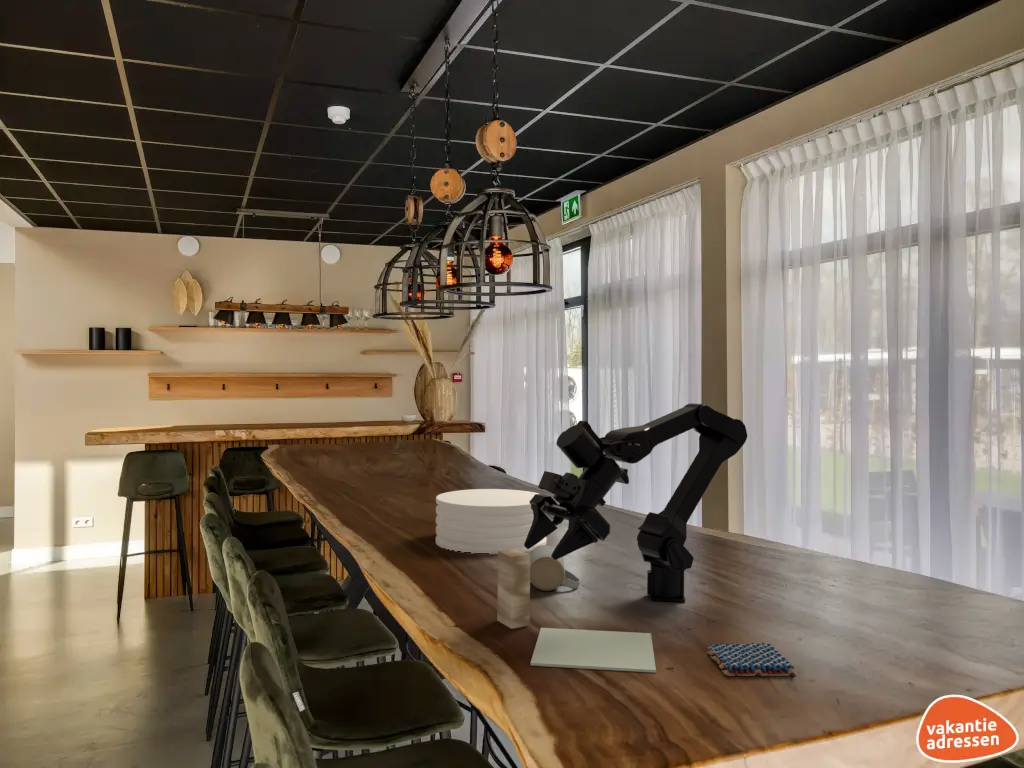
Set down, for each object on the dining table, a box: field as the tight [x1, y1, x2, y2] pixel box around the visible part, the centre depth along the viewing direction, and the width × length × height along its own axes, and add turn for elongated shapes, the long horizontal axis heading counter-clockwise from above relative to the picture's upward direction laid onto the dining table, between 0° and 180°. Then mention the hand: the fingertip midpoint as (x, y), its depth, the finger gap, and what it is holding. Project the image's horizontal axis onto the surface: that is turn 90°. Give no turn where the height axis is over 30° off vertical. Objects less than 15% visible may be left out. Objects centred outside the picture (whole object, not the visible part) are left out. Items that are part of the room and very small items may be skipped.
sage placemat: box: [529, 627, 657, 674], centre depth 121 cm, size 18×16×1 cm
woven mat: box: [706, 642, 797, 677], centre depth 116 cm, size 10×11×2 cm
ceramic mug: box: [528, 544, 581, 592], centre depth 157 cm, size 11×8×8 cm
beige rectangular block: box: [496, 549, 531, 629], centre depth 134 cm, size 4×5×12 cm
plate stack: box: [435, 488, 548, 555], centre depth 199 cm, size 28×28×12 cm
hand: (539, 552), depth 136 cm, fingers open, 9 cm apart
